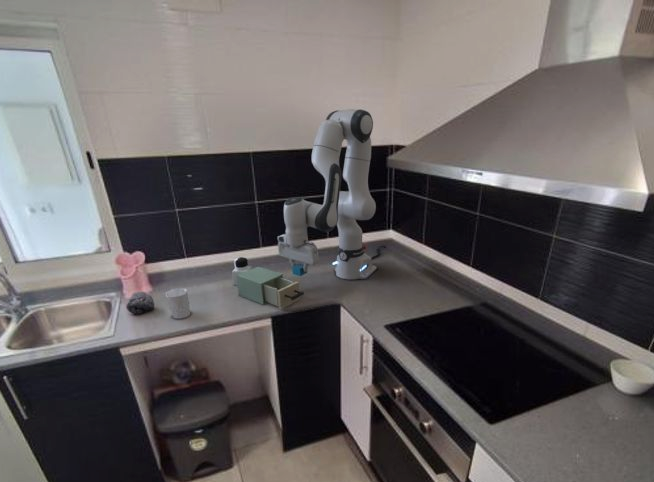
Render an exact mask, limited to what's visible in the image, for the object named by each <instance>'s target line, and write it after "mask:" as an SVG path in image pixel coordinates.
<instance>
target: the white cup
mask: <svg viewBox="0 0 654 482" xmlns="http://www.w3.org/2000/svg"><path fill="white" fill-rule="evenodd" d="M165 297H166V301H167V304H168V307H169V310H170V312H171V315H172V318H174V319H176V320H179V319H180V320H181V319H185V318H187V317H189V316H191V308H190V307H191V306H190V300H189V299H190V298H189V294H188V290H187V289H186V288H183V287H179V288H178V287H177V288H172V289H170V290H168V291H166V292H165Z"/></svg>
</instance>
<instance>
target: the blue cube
mask: <svg viewBox="0 0 654 482" xmlns="http://www.w3.org/2000/svg"><path fill="white" fill-rule="evenodd" d="M296 264H297V265H294V266H292V265H291V268H292V275H295V276H298V277H302V276H304V275H306V274H308V270H307V271H306V272H304V271H302V267H304V265H303V263H301V262H298V263H296Z"/></svg>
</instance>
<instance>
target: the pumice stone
mask: <svg viewBox="0 0 654 482" xmlns="http://www.w3.org/2000/svg"><path fill="white" fill-rule="evenodd" d="M155 305H156V304H155V301H154V298H153V297H152V296H151V295H150V294H149V293H146V292H145V291H136V292H133V293H132V294H131V296H130V298H129V300H128V302H127V303H126V306H125V307H126V310H127V311H128V312H129V313H131V314H133V315H142V314H144V313H146V312H149V311H152V310H154V309H155Z"/></svg>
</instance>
